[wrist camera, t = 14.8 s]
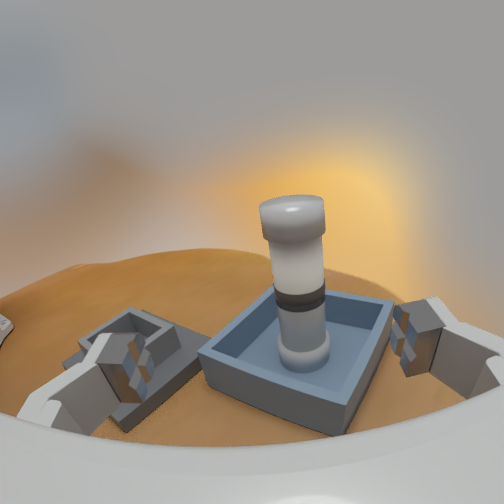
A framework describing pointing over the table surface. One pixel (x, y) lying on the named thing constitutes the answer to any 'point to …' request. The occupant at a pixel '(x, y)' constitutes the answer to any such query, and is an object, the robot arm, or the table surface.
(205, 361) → the parts tray
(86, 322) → the table surface
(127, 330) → the gray square socket base
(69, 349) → the table surface
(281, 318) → the fuse
